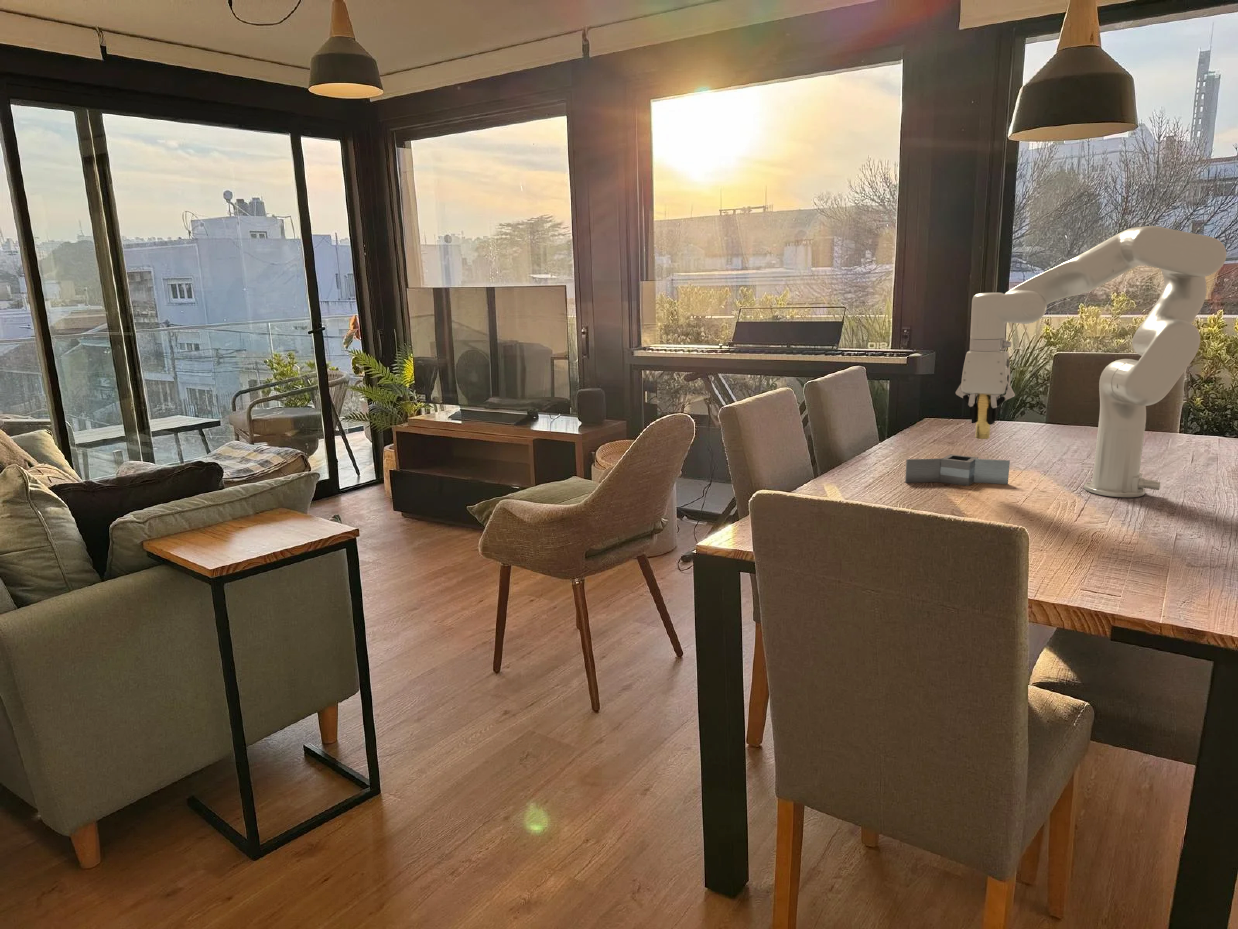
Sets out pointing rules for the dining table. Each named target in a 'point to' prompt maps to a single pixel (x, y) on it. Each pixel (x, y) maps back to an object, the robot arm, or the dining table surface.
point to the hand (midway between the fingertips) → (983, 422)
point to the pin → (982, 416)
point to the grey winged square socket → (957, 470)
